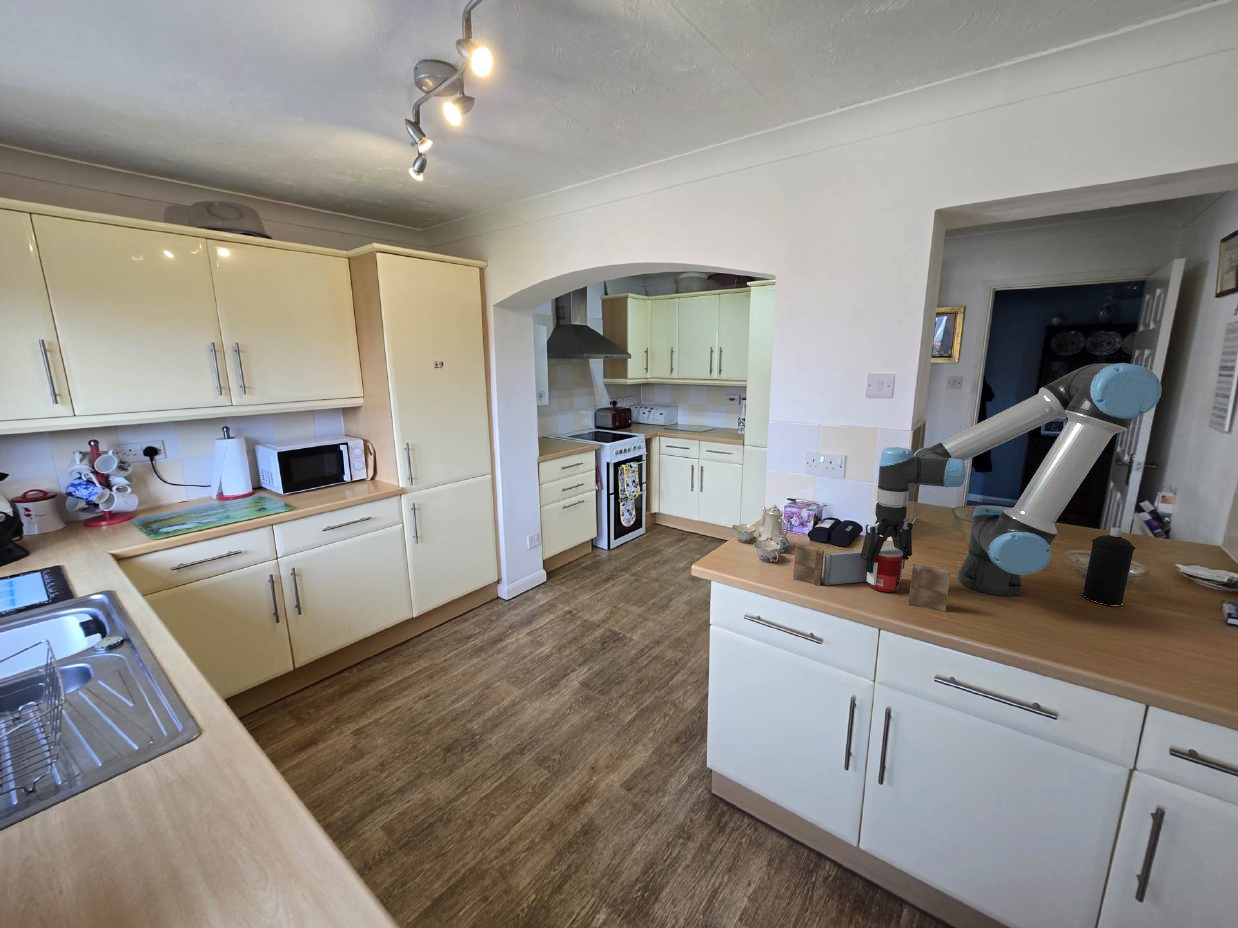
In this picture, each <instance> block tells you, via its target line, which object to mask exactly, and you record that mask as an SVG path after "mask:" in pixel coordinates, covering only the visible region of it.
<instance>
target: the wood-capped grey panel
mask: <svg viewBox="0 0 1238 928" xmlns="http://www.w3.org/2000/svg"><path fill="white" fill-rule="evenodd" d="M794 549H795V550H794V563H793V579H792V580H794V581H799V582H803V583H808V584H813V585H814V586H821V584H822V583H823V571H824V568H823V567H824V559H825V548H824V547H817V546H811V545H805V544H799V543H796V544H795V548H794ZM951 574H952V573H951V570H950V569H949V570H947V569H943V568H937V567H931V566H925V565H921V564H917V563H912V569H911V577H910V588H909V596H908V605H909V606H913V607H914V606H915V607H916V606H917V607H920V608H921V607H922V608H925V609H926V608H927V609H931V610H936V611H940V612H945V613H946V611H947V603H948V596H949V590H950V583H951V582H950V581H951Z"/></svg>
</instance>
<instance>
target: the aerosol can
mask: <svg viewBox="0 0 1238 928" xmlns="http://www.w3.org/2000/svg"><path fill="white" fill-rule="evenodd" d="M1121 534H1122V528H1120V527H1111V528H1110V531H1109V534H1105V535H1099V536H1097V537H1095V538H1093V539H1092V540H1091V542H1092V545H1091V550H1090V556H1089V560H1088V566H1087V570H1086V575H1085V581H1084V587H1083V593H1082V592H1081V595H1082V594H1083V596H1085V598H1088V599H1089V600H1093V601H1096V602H1098V603H1103V604H1107V605H1121V604H1122V603H1123V602H1124V599H1125V598H1124V597H1125V593H1126V588H1127V583H1128V578H1129V573H1130V568H1131V564H1132V559H1133V556H1134V555H1133V554H1134V551H1136V547H1135V546H1134V545H1133V543H1132V542H1131V541H1129V540H1127V539H1126V538H1124V537H1122V536H1121ZM1083 596H1082V597H1083ZM1085 598H1084V599H1085ZM1089 600H1088V601H1089ZM1098 603H1097V604H1098ZM1107 605H1106V606H1107Z"/></svg>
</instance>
